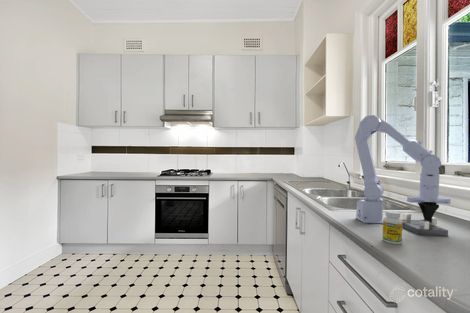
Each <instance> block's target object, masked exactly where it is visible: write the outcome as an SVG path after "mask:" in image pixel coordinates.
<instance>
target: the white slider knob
mask: <svg viewBox="0 0 470 313" xmlns="http://www.w3.org/2000/svg"><path fill="white" fill-rule="evenodd" d="M437 222H438V218H437V217H434V216H433V217H432V219H431V222H430V223H429V224H431V225H436V226H438V225H437Z"/></svg>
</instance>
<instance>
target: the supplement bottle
mask: <svg viewBox="0 0 470 313" xmlns="http://www.w3.org/2000/svg"><path fill="white" fill-rule="evenodd" d="M382 220H383V223H382V241H383V242H385V243H388V244H392V245H401V244H402V243H403V228H402V224H403V222H402V220H403V219H401V212H399V211H396V210H395V211H394V210H386V211H385V216H384V217H383V219H382Z"/></svg>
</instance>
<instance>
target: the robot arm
mask: <svg viewBox="0 0 470 313" xmlns="http://www.w3.org/2000/svg"><path fill="white" fill-rule="evenodd" d="M356 130H357V131H356V133H355V136H354V140H355V145H356V150H357V153H358V158H359V161H360V165H361V170H362V174H363V183H364V184H363V185H364V190H363V195H364V197H363V199H358V200H357V201H356V215H355V218H356V219H357V220H359V221H361V222H362V223H364V224H383V219H384V217H383V215H384V199H383V198H382V196H383V195H384V187H383V186H382V185H381V183H380V180H379V178H378V175H377V172H376V168H375V167H376V166H375V164H374V160H373V159H374V158H373V154H372V151H371V147H370V142H369V139H370V138H371V137H372V136H373V135H374V134H376V133H377V132H379V133H383V134H387V136H389V137H391V138H392V139H393V140H394V141H396V142H397V143H399V144H400V145H401V146H402V151H403V152H404V153H405V154H407V155H408V157H410V158H412V160H414V161H415V162H418V163H420V166H421V173H420V174H419V175H420V178H419V193H418V194H419V195H418V196H406V202H408V203H410V204H411V203H412V204H414V203H417V206H419V209H420V210H421V214H422V216H423V220H427V221H429V223H430V222H431V219H432V217H434V215H435V213H436V212H437V210H438V209H439V208H440V204H442V205H443V204H445V205H451V198H446V197H439V195H440V194H439V193H440V192H439V191H440V174H439V173H440V169H439V168H440V166H441V165H442V162H441V159H440V157H438V156H437V155H436V154H433V152H434V151H433V150H432V149H431V150H429V149H428V148H427V147H425V146H424V145H423V144H422V141H420V140H417V139H408V137H406V136H405V135H404V134H402V133H401V132H400V131H399V130H397V128H395V127H394V126H393V125H391V123H389V122H387V121H385V120H383V119H381V118H379V117H378V116H377V115H375V114H367V115H366V116H365V117H363V119H362V120H360V121H359V125H358V128H357V129H356Z"/></svg>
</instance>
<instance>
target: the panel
mask: <svg viewBox="0 0 470 313" xmlns="http://www.w3.org/2000/svg"><path fill="white" fill-rule="evenodd" d="M401 220H402V222H403V224H402V229H404V230H407V231H409V232H411V233H413V234H415V235H418V236H437V237H439V236H441V237H449V230H448V229H446V228H443V227H442V226H438V225H431V224H429V221H427V220H424V219H421V218H420V219H412V214H411V213H408V212H402V219H401Z"/></svg>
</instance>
